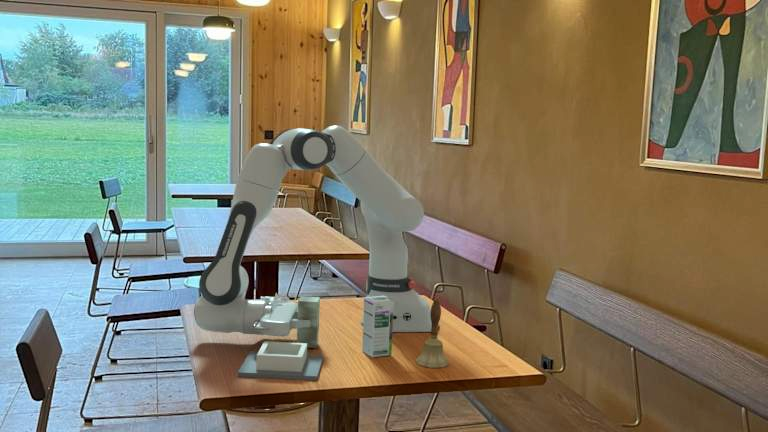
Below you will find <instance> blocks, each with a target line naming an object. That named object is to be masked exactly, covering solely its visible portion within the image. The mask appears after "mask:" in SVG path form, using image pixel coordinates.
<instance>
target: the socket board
mask: <svg viewBox="0 0 768 432" xmlns="http://www.w3.org/2000/svg"><path fill="white" fill-rule="evenodd" d="M323 361H324V354H308V347H307V343H297V342H289V341H288V342H287V341H285V342H284V341H283V342H282V341H268V340H267V341H266V340H265V341H263V342H262V345H261V347H260V348H259V350H258V351H252V350H251V351H249V352H248V354H247V355H246V358H245V359H244V361H243V362H242V365H241V366H240V367H239V369H238V371H237V377H238V378H239V377H241V378H256V379H257V378H259V379H261V378H262V379H276V380H277V379H279V380H280V379H282V380H283V379H284V380H296V381H297V380H299V381H300V380H301V381H318V380H319V379H318V378H319V375H320V370H321V368H322V364H323Z"/></svg>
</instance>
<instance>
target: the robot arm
mask: <svg viewBox="0 0 768 432" xmlns="http://www.w3.org/2000/svg"><path fill="white" fill-rule="evenodd" d="M325 165H326V166H327V167H328V168H329V169H330V170H331V172H332V173H333V174H334V175H335V177H336V178H337V179H338V180H339V181H340V182H341V183H342V185H344V187H345V188H346V189H347V190H348V191H349V192H350V193H351V194H352V196H353V197H355V198H357V199H358V201H360V210H361V211H360V212H361V213H362V215H363V218H364V221H365V226H366V227H365V228H366V232H367V237H368V246H369V259H368V261H369V263H368V264H369V265H368V274H367V277H366V285H365V286H366V287H365V289H366V297H374V296H383V295H384V296H387V297H389V298H391V299H392V300H393V301H394V307H393V331H392V333H431V328H432V323H431V317H430V312H431V306H430V304H429V302H428V300H426V299H425V298H424V297H422V296H421V295H420V294H419V293H418V292H417V291H416V290H414V289H415V287H416V282H415V280H414V279H413V278H412V277H410V276H408V266H409V265H408V261H409V250H408V249H409V248H408V247H407V244H406V243H405V240H404V234H403V232H404V233H405V232H407V233H408V232H412V231H415V230H416V229H418V227H420V226H421V224H422V221H423V220H424V216H425V212H424V211H425V209H424V207H423V204H422V203H421V201H419V200H418V199H417V198H416V197H414V196H413V195H412V194H410V192H408V190H407V189H406V188H405V187H403V185H401V184H400V183H399V182H398V181H397V180H396V179H395V178H394V177H392V176H391V175H390V174H389V173H388V172H386V171H385V170H384V169H383V168H382V166H381V165H380V164H379V163H378V162H377V161H376V159H375V158H374V157H373V156H372V154H371V153H370V152H369V151H368V150H367V149H366V148H365V146H363V144H362V143H361V142H360V141H359V139H357V138H356V137H355V136H354V135H353V134H352V133H351V132H349V130H347V129H346V128H344V127H343V126H341V125H337V124H335V125H330V126H328V127H326V128H325V129H323V130H322V131H320V130H317V129H312V128H311V129H310V128H305V127H304V128H303V127H298V128H288V129H285V130H283V131H281V132H280V133H278V134H277V135H276V136H275V137H274V138H273V139H272V140H271V141H270V142H269V143H265V142H263V143H262V142H261V143H256V144H254V145H253V146H252V147H251V148H250V150H249V152H248V154H247V155H246V157H245V159H244V162H243V164H242V166H241V170H240V172H239V175H238V178H237V180H236V184H235V187H234V192H233V197H232V202H231V208H230V209H229V215H228V219H227V223H226V225H225V228H224V231H223V235H222V236H221V239H220V243H219V245H218V248H217V251H216V254H215V255H214V257H213V260H212V261H211V262H210V264H209V265H208V266H206V268H205V269H204V271H203V272H202V274H201V275H200V278H199V283H198V287H199V292H200V294H201V296H200V297H199V298H198V299H197V300H195V303H194V308H193V314H194V315H193V316H194V319H195V320H194V321H195V323H196V325H197V327H198V328H199V329H201V330H204V331H206V332H211V333H220V334H221V333H223V334H231V333H241V334H243V335H260V336H261V335H262V336H264V335H265V336H271V337H272V336H273V337H288V336H289V335H290V333H291V331H292V329H295V330H297V328H303V327H308V328H309V327H310V325H311V320H310V319H304V320H298V302H294V301H288V300H287V301H280V300H272V301H270V298H262V299H248V298H247V299H246V295H247V291H248V287H249V282H250V281H249V275H248V271H247V270H246V269H245V267H243V266H242V265H241V263H242V260H243V257H244V255H245V252H246V249H247V246H248V242H249V240H250V238H251V235H252V234H253V232H254V230H255V229H256V228H257V226H258V225H259V224H260V223H261V222H263V220H265V219H266V218H267V217H268V216H270V214H271V212H272V211H273V208H274V206H275V204H276V202H277V199H278V196H279V192H280V189H281V187H282V182H283V179H284V178H285V176H286V175H287V173H288V172H289V171H290V170H297V171H315V170H319V169H321V168H322V167H323V166H325ZM360 320H361V321H360V323H361V324H362V325H363V316H362V317H361V319H360Z"/></svg>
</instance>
